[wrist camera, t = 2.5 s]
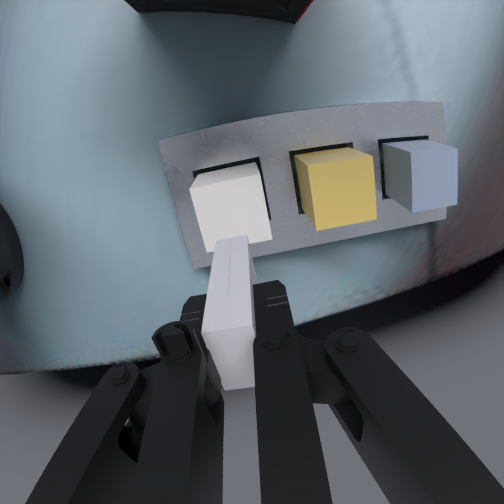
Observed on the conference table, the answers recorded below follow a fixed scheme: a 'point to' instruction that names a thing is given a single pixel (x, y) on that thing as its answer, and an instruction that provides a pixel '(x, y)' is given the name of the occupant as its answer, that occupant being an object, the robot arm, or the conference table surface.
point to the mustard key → (336, 187)
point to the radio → (230, 7)
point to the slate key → (421, 174)
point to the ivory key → (231, 205)
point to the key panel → (280, 172)
